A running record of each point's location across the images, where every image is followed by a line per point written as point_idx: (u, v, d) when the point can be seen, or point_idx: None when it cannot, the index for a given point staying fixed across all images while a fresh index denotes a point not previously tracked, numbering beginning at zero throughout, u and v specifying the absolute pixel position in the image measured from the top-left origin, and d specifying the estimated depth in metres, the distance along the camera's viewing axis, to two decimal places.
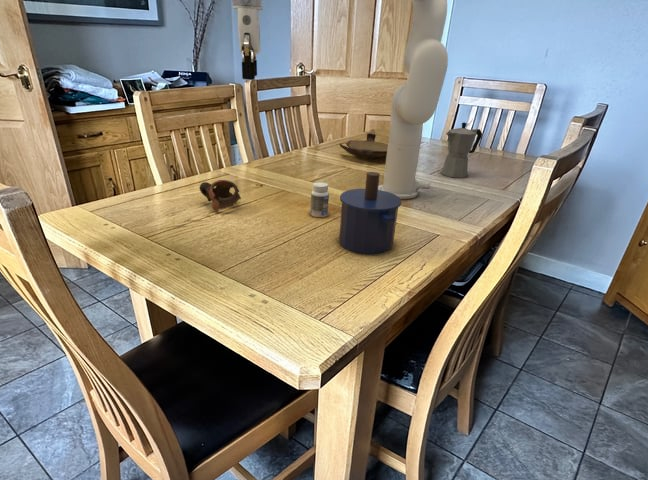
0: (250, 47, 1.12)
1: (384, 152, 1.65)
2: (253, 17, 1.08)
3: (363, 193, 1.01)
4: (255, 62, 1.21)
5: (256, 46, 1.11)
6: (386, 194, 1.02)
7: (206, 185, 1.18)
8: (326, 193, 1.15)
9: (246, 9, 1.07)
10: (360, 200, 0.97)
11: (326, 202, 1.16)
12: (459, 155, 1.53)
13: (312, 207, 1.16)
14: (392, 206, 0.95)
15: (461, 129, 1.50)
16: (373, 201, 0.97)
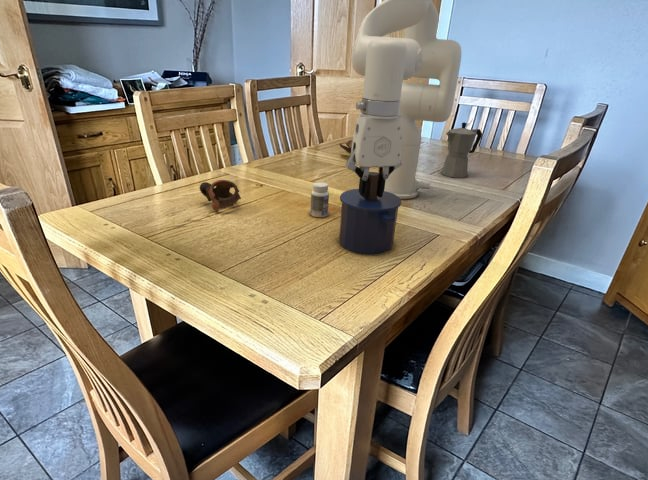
0: None
1: None
2: (361, 127, 0.88)
3: None
4: (380, 182, 0.96)
5: (358, 159, 0.90)
6: (386, 194, 1.02)
7: (206, 185, 1.18)
8: (326, 193, 1.15)
9: (359, 117, 0.88)
10: (360, 200, 0.97)
11: (326, 202, 1.16)
12: (459, 155, 1.53)
13: (312, 207, 1.16)
14: (392, 206, 0.95)
15: (461, 129, 1.50)
16: (373, 201, 0.97)
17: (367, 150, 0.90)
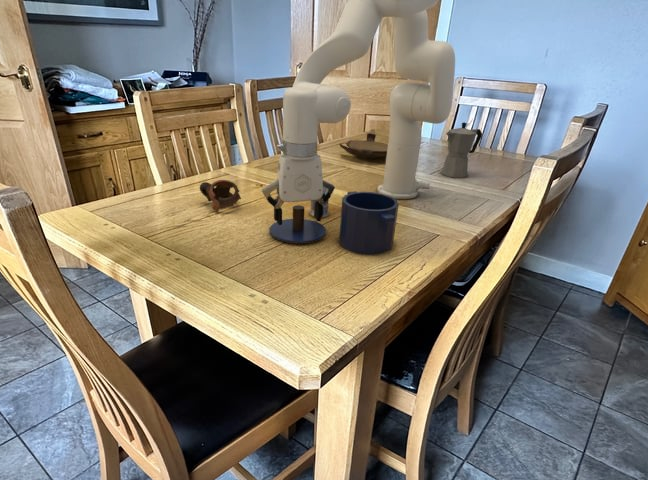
0: None
1: (384, 152, 1.65)
2: (281, 166, 0.96)
3: None
4: (318, 208, 1.04)
5: (280, 195, 0.98)
6: (315, 224, 1.10)
7: (206, 185, 1.18)
8: None
9: (280, 157, 0.96)
10: (287, 231, 1.05)
11: (326, 202, 1.16)
12: (459, 155, 1.53)
13: (312, 207, 1.16)
14: (315, 237, 1.03)
15: (461, 129, 1.50)
16: (299, 232, 1.05)
17: (288, 187, 0.98)
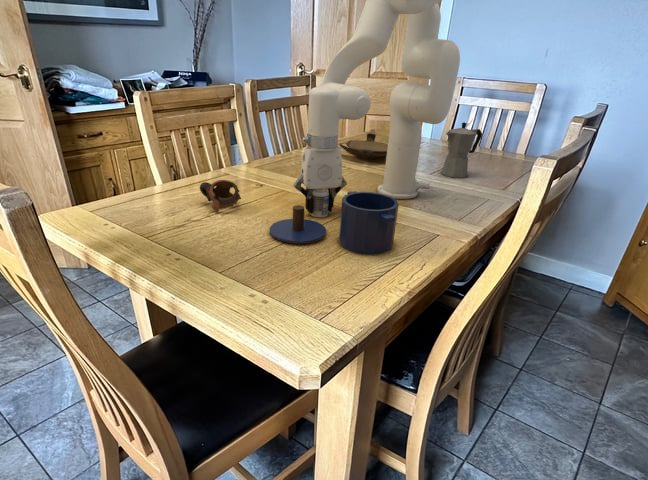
0: None
1: (384, 152, 1.65)
2: (306, 157, 1.08)
3: None
4: (329, 199, 1.16)
5: (305, 182, 1.11)
6: (315, 224, 1.10)
7: (206, 185, 1.18)
8: (326, 193, 1.15)
9: (305, 149, 1.09)
10: (287, 231, 1.05)
11: (326, 202, 1.16)
12: (459, 155, 1.53)
13: None
14: (315, 237, 1.03)
15: (461, 129, 1.50)
16: (299, 232, 1.05)
17: (312, 175, 1.10)
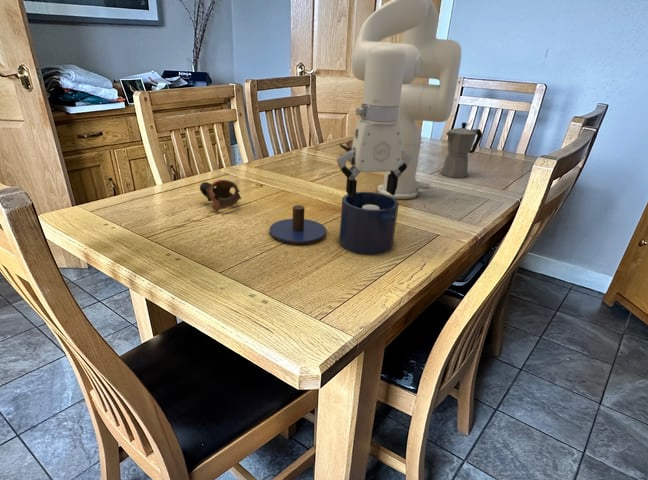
0: None
1: None
2: (360, 132, 0.88)
3: None
4: (393, 180, 0.97)
5: (357, 164, 0.91)
6: (315, 224, 1.10)
7: (206, 185, 1.18)
8: None
9: (359, 122, 0.89)
10: (287, 231, 1.05)
11: None
12: (459, 155, 1.53)
13: None
14: (315, 237, 1.03)
15: (461, 129, 1.50)
16: (299, 232, 1.05)
17: (367, 155, 0.90)
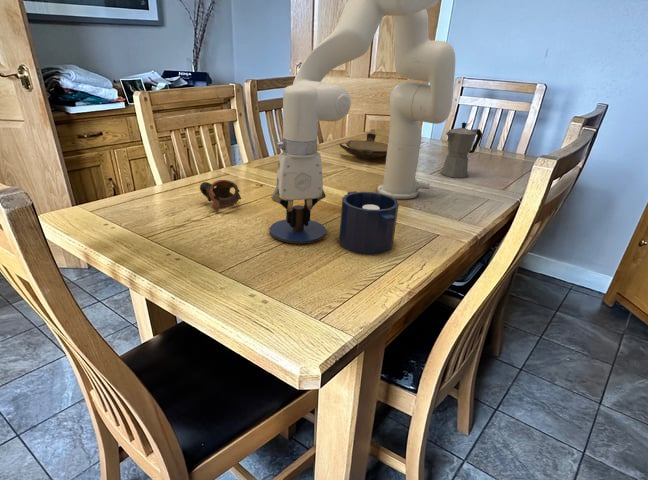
0: None
1: (384, 152, 1.65)
2: (281, 164, 0.96)
3: None
4: (305, 212, 1.04)
5: (280, 193, 0.98)
6: (315, 224, 1.10)
7: (206, 185, 1.18)
8: None
9: (280, 155, 0.96)
10: (287, 231, 1.05)
11: None
12: (459, 155, 1.53)
13: None
14: (315, 237, 1.03)
15: (461, 129, 1.50)
16: (299, 232, 1.05)
17: (288, 185, 0.97)
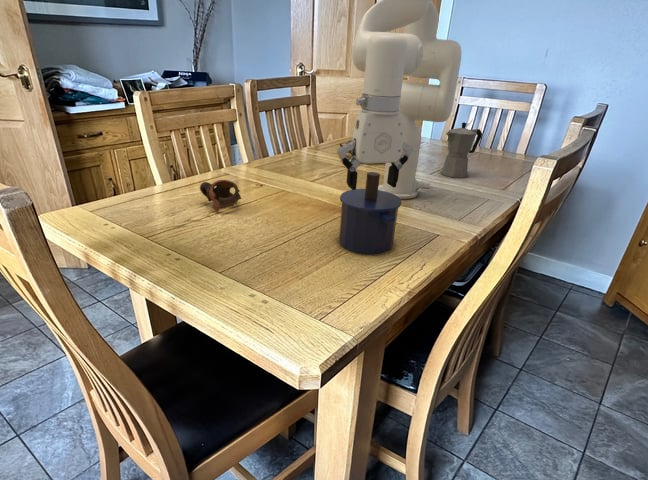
0: None
1: None
2: (361, 123, 0.87)
3: (363, 193, 1.01)
4: (394, 172, 0.96)
5: (358, 155, 0.90)
6: (386, 194, 1.01)
7: (206, 185, 1.18)
8: None
9: (359, 113, 0.88)
10: (360, 200, 0.97)
11: None
12: (459, 155, 1.53)
13: None
14: (392, 206, 0.94)
15: (461, 129, 1.50)
16: (373, 201, 0.97)
17: (367, 146, 0.89)
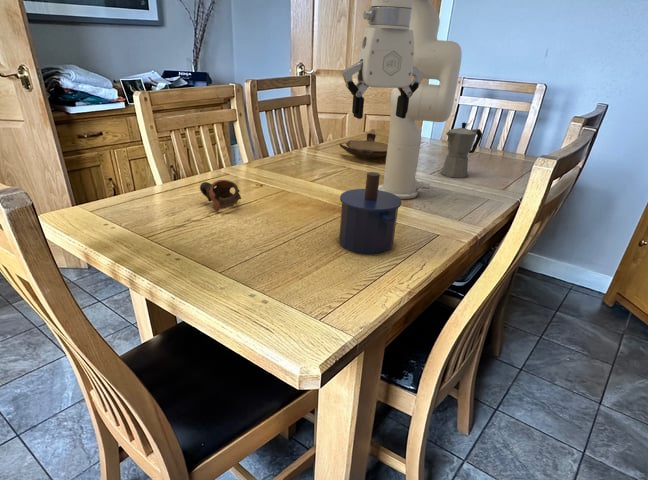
0: None
1: (384, 152, 1.65)
2: (368, 39, 0.80)
3: (363, 193, 1.01)
4: (404, 100, 0.88)
5: (365, 77, 0.83)
6: (386, 194, 1.01)
7: (206, 185, 1.18)
8: None
9: (367, 29, 0.81)
10: (360, 200, 0.97)
11: None
12: (459, 155, 1.53)
13: None
14: (392, 206, 0.94)
15: (461, 129, 1.50)
16: (373, 201, 0.97)
17: (375, 66, 0.82)
